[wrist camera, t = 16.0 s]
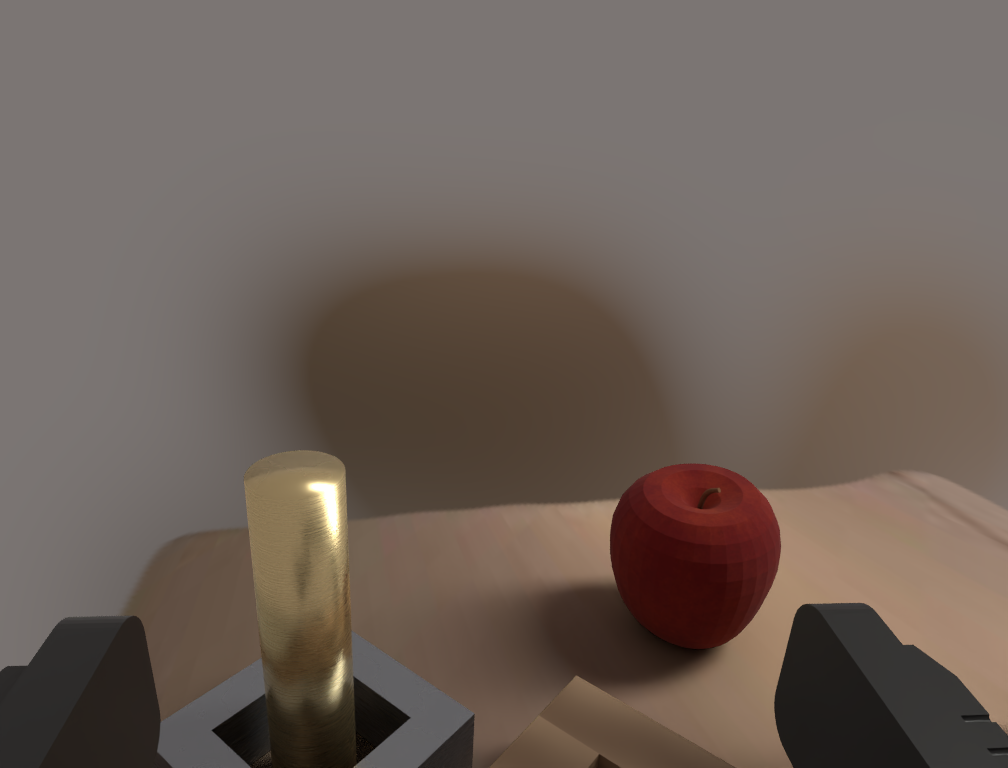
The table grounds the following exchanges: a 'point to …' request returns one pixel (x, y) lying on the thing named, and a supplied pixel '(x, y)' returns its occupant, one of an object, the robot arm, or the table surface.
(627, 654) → the table surface
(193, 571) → the table surface
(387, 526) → the table surface
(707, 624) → the apple
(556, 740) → the walnut block
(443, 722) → the grey steel socket block
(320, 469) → the brass axle
